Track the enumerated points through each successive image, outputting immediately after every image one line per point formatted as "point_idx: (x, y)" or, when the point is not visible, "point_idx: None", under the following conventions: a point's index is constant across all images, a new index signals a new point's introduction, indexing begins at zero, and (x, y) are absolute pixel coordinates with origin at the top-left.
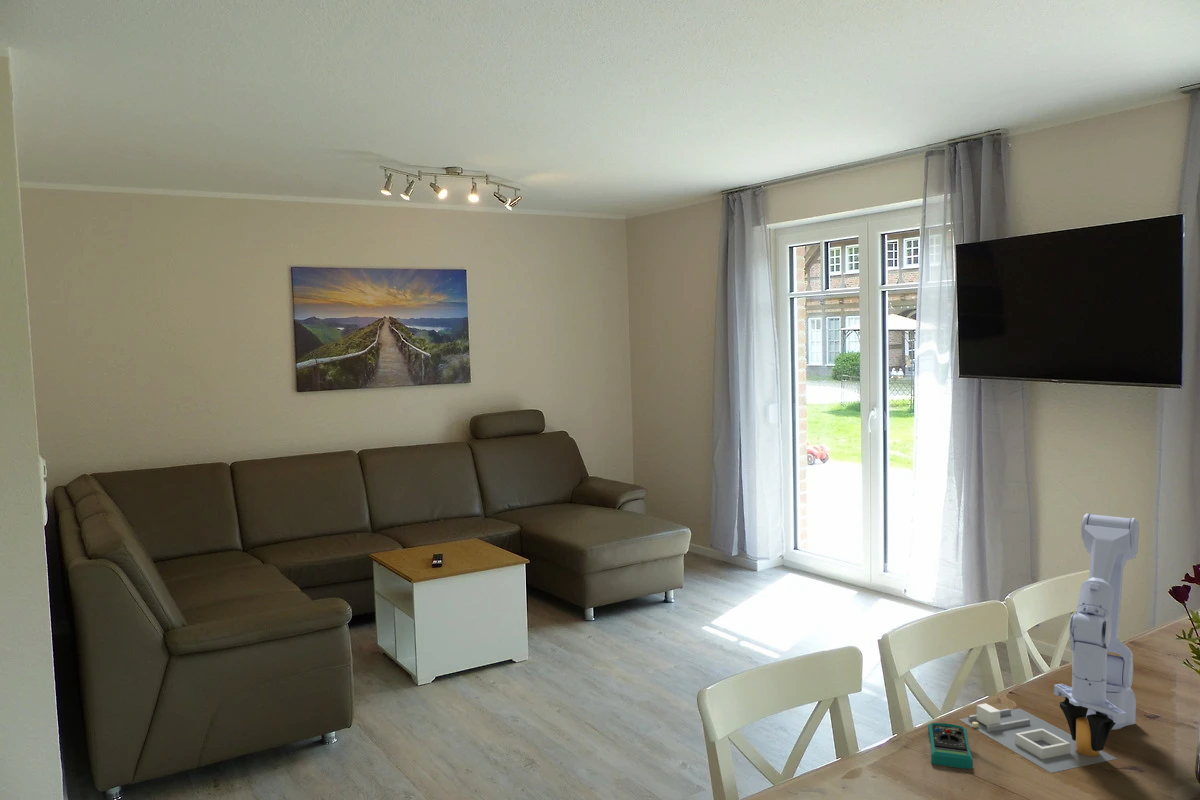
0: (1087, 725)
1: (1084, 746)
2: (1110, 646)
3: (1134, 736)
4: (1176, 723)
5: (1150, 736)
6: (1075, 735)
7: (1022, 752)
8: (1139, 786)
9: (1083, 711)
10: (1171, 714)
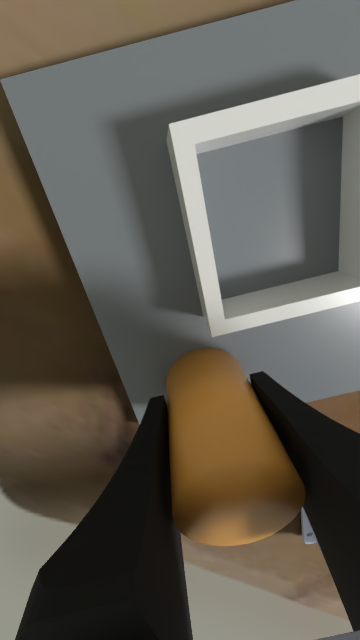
0: (187, 485)
1: (182, 380)
2: None
3: None
4: (305, 589)
5: (273, 542)
6: (259, 391)
7: (256, 60)
8: (4, 412)
9: (328, 549)
10: (338, 595)
